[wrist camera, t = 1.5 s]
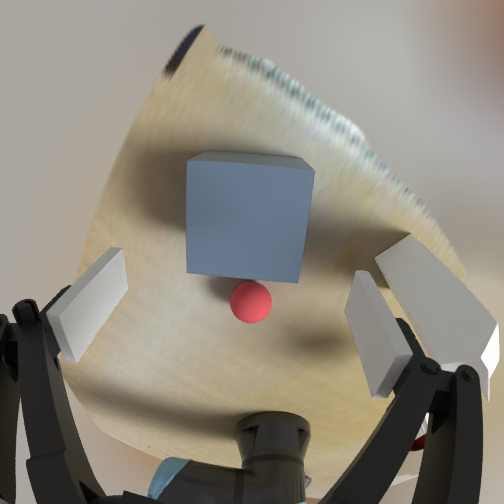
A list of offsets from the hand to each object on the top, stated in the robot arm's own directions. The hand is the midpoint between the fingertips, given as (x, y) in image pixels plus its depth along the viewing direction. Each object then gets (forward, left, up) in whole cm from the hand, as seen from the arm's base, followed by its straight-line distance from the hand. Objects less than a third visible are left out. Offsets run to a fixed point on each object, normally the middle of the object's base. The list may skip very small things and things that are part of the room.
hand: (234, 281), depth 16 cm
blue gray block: (0, 0, -18) cm, 18 cm away
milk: (-6, -20, -18) cm, 28 cm away
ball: (-12, -1, -16) cm, 20 cm away
